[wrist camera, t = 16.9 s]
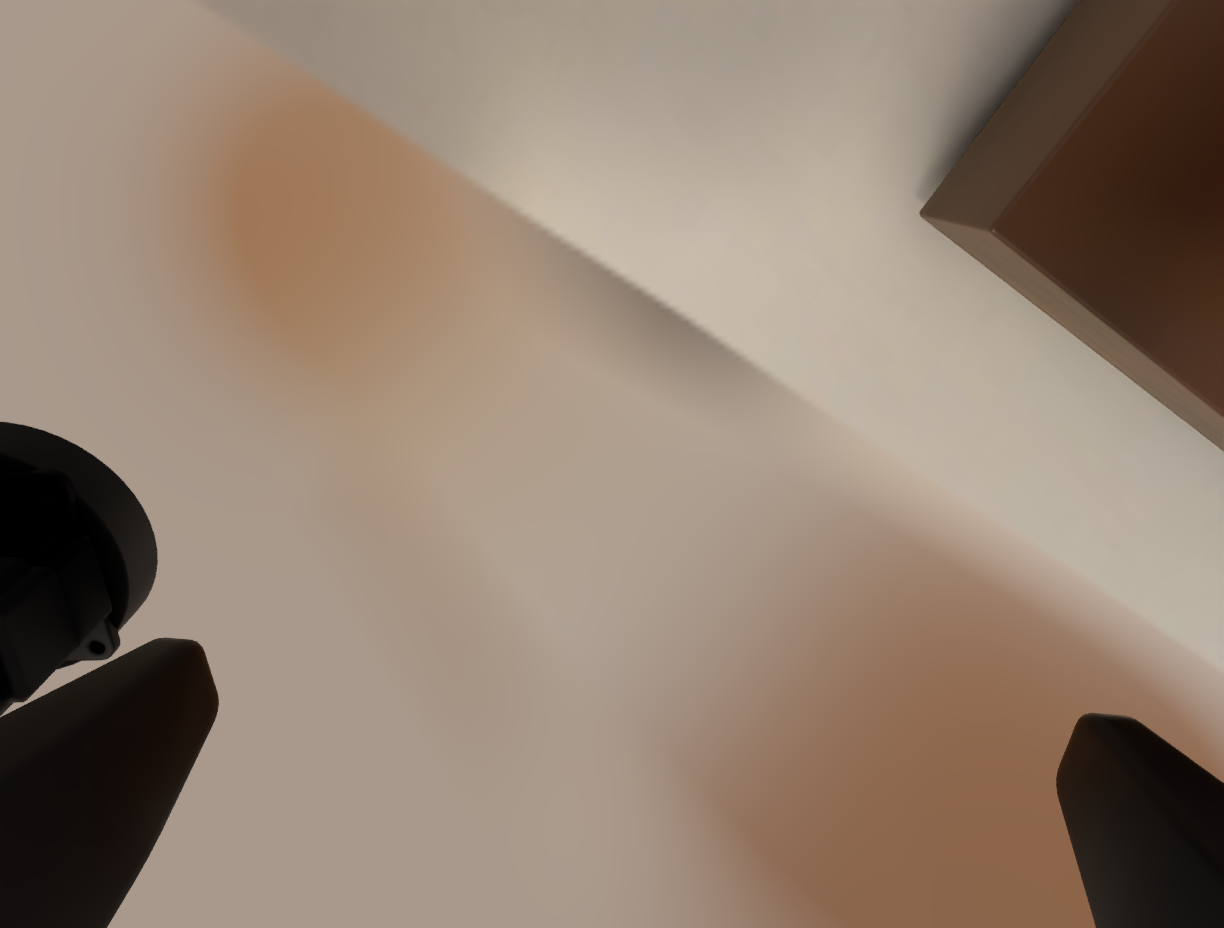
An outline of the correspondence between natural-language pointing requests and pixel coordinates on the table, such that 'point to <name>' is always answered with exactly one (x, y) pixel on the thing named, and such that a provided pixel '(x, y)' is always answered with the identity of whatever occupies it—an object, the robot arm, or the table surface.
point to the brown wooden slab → (1113, 194)
